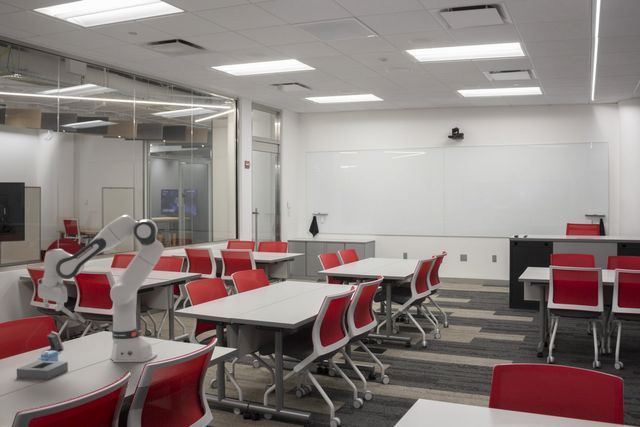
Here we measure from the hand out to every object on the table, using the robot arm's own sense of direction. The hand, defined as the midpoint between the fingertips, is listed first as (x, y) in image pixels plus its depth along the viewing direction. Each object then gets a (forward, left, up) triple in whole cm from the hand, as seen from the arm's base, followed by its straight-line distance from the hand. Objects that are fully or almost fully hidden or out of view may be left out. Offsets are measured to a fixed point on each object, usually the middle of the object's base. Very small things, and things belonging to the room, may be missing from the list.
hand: (52, 309), depth 288 cm
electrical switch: (+14, -21, -26) cm, 36 cm away
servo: (-2, +5, -26) cm, 27 cm away
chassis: (-9, +19, -26) cm, 33 cm away
